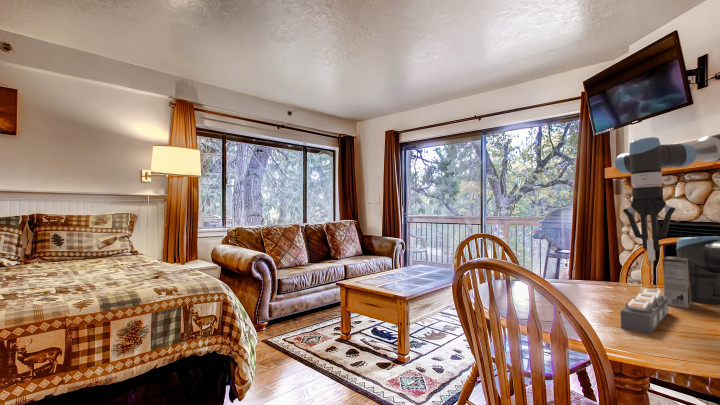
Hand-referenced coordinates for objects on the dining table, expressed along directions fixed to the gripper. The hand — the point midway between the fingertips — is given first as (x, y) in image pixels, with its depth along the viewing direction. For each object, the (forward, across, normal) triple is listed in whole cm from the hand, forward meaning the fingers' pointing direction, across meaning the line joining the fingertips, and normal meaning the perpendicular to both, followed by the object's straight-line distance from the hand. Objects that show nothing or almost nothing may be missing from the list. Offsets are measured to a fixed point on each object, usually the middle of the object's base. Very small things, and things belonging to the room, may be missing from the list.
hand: (651, 259), depth 107 cm
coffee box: (+18, +3, +22) cm, 29 cm away
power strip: (+17, -1, -9) cm, 19 cm away
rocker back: (+12, -1, 0) cm, 12 cm away
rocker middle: (+11, -1, -8) cm, 14 cm away
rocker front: (+11, -1, -17) cm, 20 cm away
